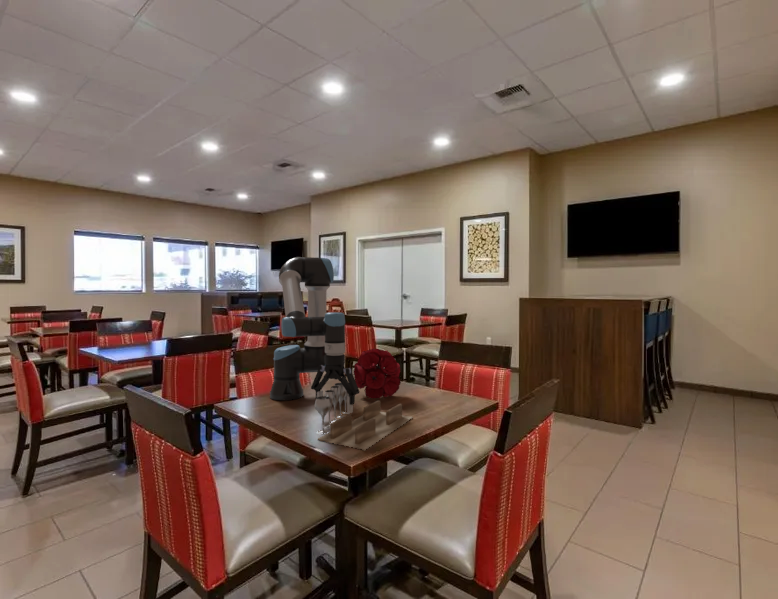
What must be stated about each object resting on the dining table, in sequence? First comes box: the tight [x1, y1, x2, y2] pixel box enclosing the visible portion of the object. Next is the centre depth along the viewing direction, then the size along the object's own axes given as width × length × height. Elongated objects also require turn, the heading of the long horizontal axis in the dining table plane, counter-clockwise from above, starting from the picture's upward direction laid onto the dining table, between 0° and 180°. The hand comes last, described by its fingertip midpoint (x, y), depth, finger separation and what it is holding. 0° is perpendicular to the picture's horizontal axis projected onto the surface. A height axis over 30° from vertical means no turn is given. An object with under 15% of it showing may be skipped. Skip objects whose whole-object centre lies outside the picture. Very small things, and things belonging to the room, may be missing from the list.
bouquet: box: [353, 348, 401, 400], centre depth 191 cm, size 22×24×30 cm
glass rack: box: [317, 400, 414, 451], centre depth 145 cm, size 18×36×6 cm, turn 153°
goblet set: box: [314, 382, 349, 435], centre depth 152 cm, size 28×6×13 cm, turn 166°
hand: (334, 410), depth 152 cm, fingers open, 13 cm apart
